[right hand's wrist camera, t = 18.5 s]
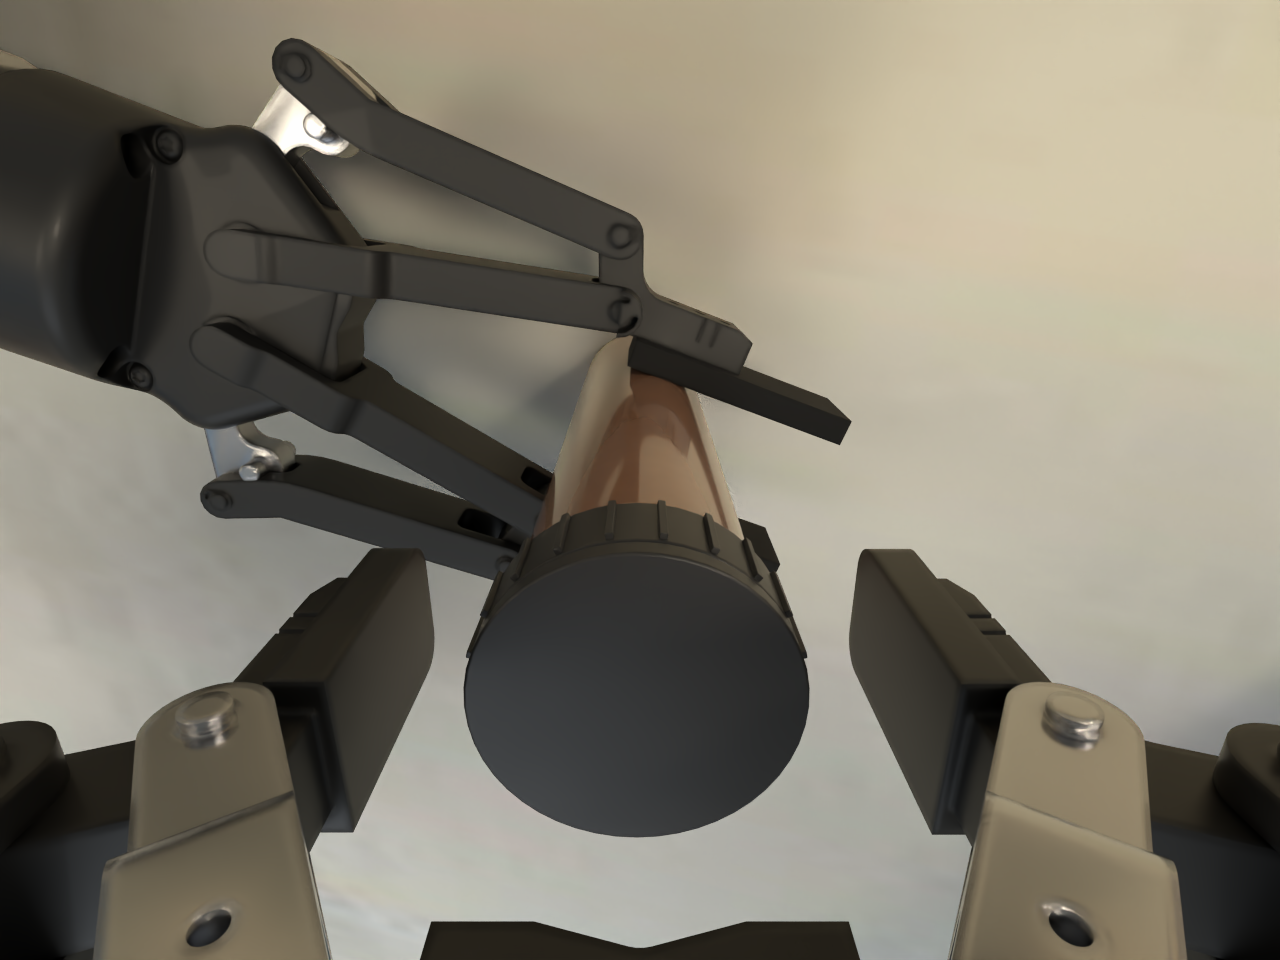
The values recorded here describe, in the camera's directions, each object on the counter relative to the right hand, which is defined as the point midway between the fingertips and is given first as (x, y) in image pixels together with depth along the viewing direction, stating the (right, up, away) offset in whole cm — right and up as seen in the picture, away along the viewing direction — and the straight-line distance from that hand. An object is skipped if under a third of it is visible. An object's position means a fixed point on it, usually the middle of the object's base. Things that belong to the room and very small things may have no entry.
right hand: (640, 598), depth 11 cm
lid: (0, -1, -2) cm, 2 cm away
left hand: (+5, +2, +10) cm, 12 cm away
